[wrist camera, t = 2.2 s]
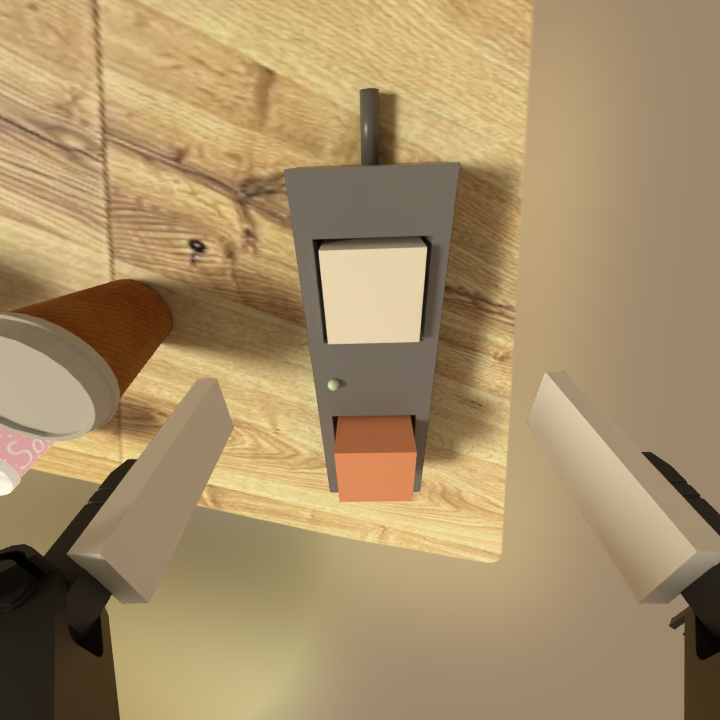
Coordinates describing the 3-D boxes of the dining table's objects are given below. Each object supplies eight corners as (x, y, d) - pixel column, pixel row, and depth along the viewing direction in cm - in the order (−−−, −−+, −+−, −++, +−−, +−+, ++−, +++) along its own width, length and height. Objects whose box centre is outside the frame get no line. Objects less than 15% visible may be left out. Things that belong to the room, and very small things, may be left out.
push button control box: (290, 95, 20) (267, 76, 16) (448, 88, 20) (475, 67, 15) (333, 457, 40) (329, 498, 35) (414, 456, 40) (421, 497, 35)
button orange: (338, 412, 30) (334, 453, 26) (409, 411, 30) (416, 452, 26) (342, 459, 34) (339, 501, 30) (406, 458, 34) (412, 501, 30)
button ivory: (326, 234, 24) (318, 250, 20) (416, 231, 24) (427, 247, 20) (333, 316, 28) (328, 344, 24) (410, 314, 28) (419, 342, 24)
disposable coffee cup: (175, 263, 27) (60, 328, 17) (200, 356, 32) (125, 448, 22) (62, 257, 26) (-123, 318, 16) (106, 352, 32) (-14, 442, 22)
